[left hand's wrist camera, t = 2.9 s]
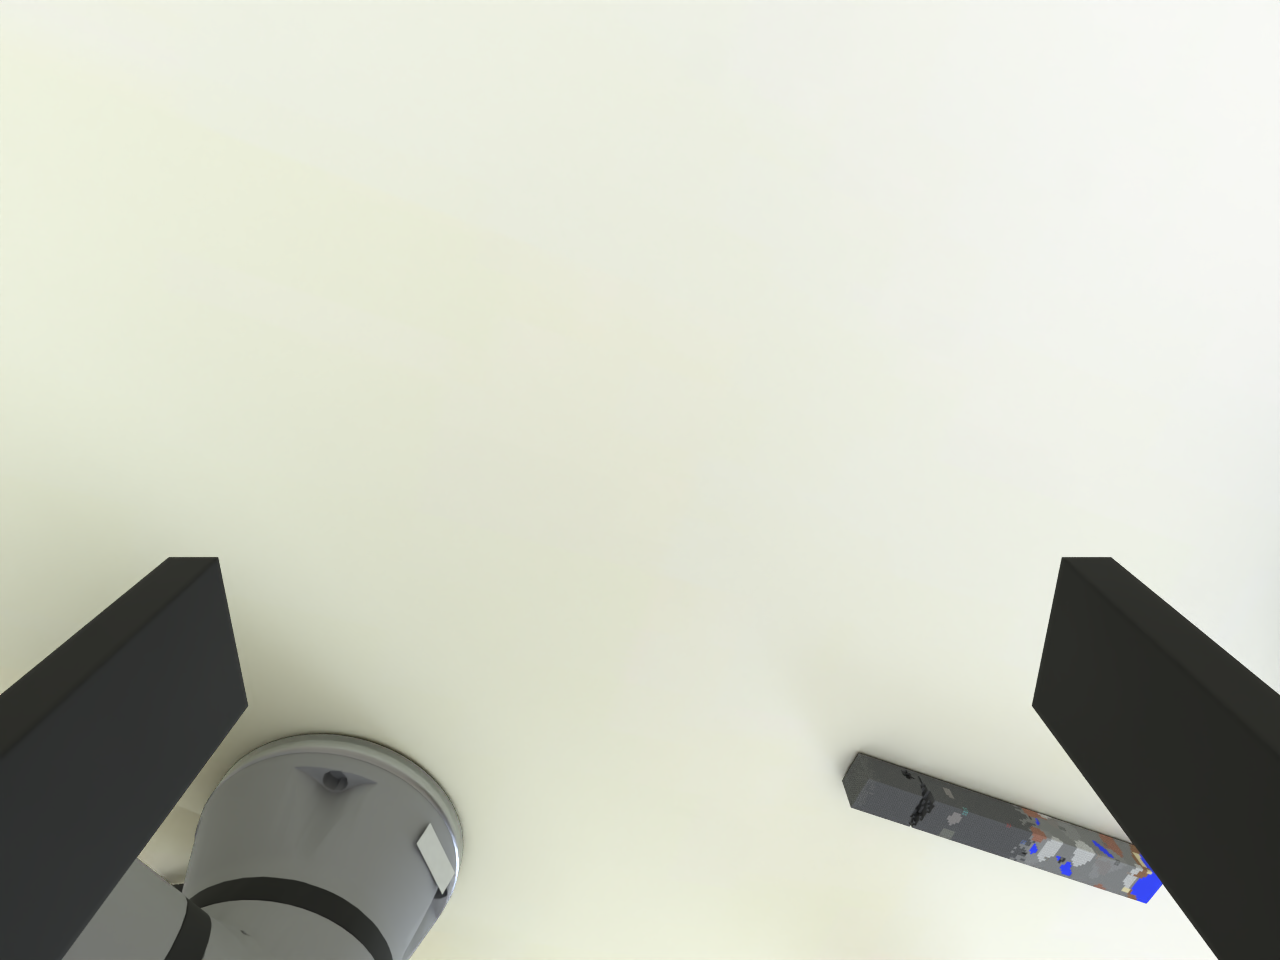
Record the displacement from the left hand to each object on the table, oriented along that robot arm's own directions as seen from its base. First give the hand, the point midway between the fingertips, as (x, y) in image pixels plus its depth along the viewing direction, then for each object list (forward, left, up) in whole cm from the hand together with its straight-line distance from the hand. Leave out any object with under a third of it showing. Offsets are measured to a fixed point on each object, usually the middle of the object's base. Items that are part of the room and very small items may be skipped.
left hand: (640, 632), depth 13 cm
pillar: (+3, -36, -28) cm, 46 cm away
